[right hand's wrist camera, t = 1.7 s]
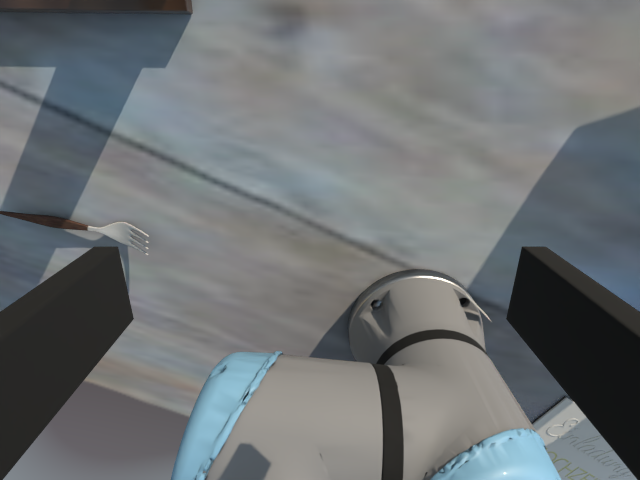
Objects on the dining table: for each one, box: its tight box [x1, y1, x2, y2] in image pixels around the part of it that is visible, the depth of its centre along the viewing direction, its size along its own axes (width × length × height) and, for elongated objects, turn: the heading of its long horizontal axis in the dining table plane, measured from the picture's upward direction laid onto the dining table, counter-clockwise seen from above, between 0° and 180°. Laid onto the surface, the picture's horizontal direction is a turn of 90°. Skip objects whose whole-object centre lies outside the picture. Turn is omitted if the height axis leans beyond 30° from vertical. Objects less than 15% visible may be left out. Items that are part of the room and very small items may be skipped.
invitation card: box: [532, 397, 637, 480], centre depth 54 cm, size 21×1×15 cm
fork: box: [0, 211, 149, 255], centre depth 39 cm, size 3×16×2 cm, turn 78°
